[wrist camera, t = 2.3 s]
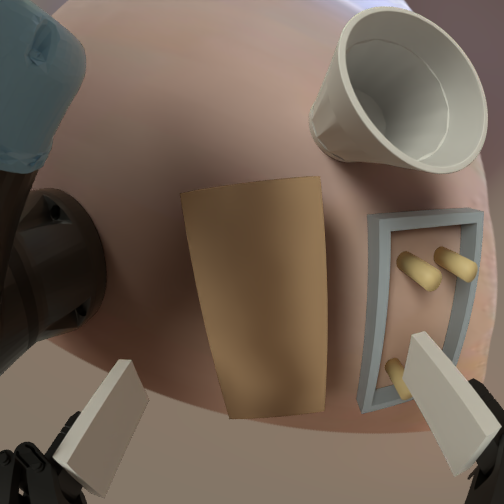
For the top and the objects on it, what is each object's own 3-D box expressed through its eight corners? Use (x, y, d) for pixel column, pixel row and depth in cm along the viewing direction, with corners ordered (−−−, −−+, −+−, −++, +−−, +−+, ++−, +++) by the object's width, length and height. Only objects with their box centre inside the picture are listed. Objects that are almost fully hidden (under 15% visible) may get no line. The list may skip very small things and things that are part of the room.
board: (234, 385, 21) (229, 419, 17) (197, 189, 17) (179, 193, 13) (316, 377, 21) (324, 411, 17) (306, 176, 17) (320, 176, 13)
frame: (356, 399, 27) (367, 429, 22) (367, 214, 21) (393, 225, 16) (439, 375, 26) (457, 398, 21) (468, 207, 20) (500, 216, 15)
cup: (277, 109, 19) (295, 38, 8) (353, 66, 18) (419, -5, 6) (336, 191, 21) (414, 210, 9) (405, 143, 19) (506, 130, 8)
